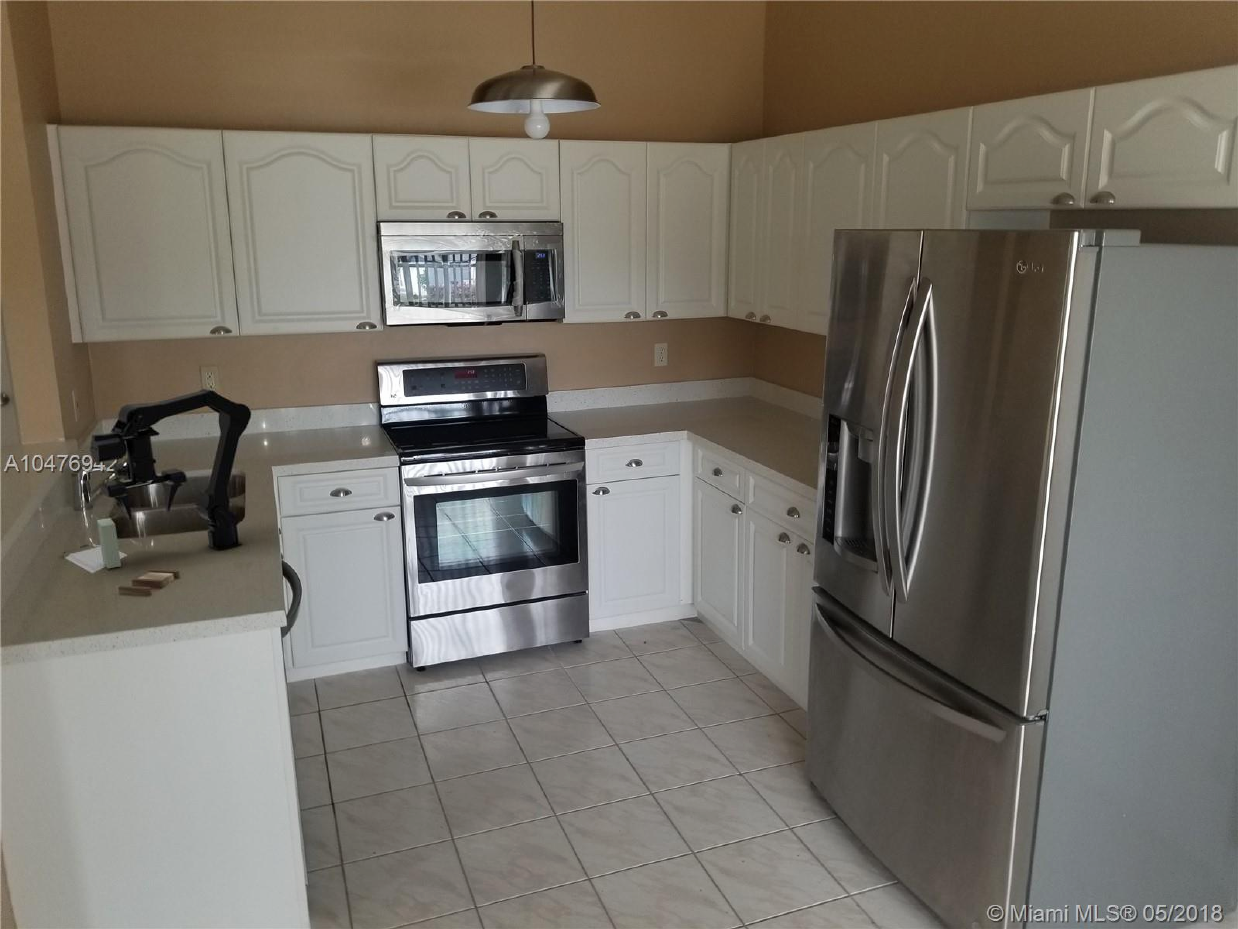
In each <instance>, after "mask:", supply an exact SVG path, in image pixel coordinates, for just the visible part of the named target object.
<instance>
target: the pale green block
mask: <svg viewBox="0 0 1238 929" xmlns="http://www.w3.org/2000/svg"><path fill="white" fill-rule="evenodd" d="M96 523H97V528H98V529H97V530H98V536H99V542H100V543H99V545H100V546H101V551H102V557H103V562H104V564H105V565H106V567H105V568H107V569H113V568H117V567H122V564H121V559H120V555H119V551H120V549H119V542H118V536H117V528H116V523H115V522H114V521H113V520H112V518H111V517H109V518H108V517H107V518H102V519H96Z"/></svg>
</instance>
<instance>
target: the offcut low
mask: <svg viewBox="0 0 1238 929" xmlns="http://www.w3.org/2000/svg"><path fill="white" fill-rule="evenodd" d="M173 580H174V577H172V578H170V579H169V580H167V581H165V582H164V585H166V584H168V583H169V582H171V581H173Z"/></svg>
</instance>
